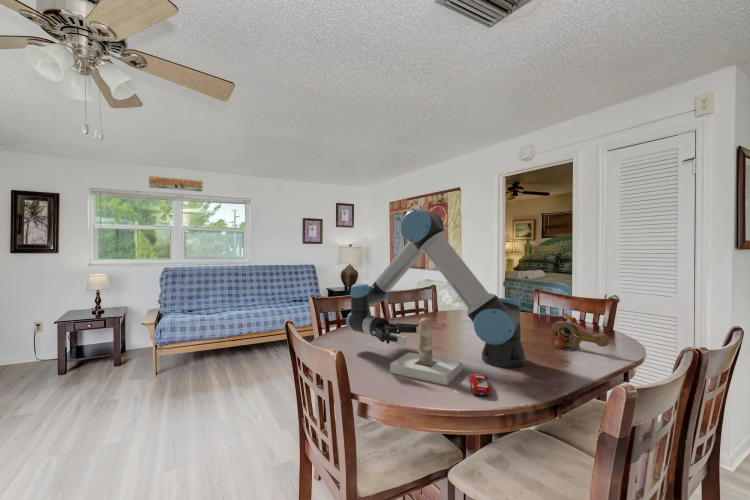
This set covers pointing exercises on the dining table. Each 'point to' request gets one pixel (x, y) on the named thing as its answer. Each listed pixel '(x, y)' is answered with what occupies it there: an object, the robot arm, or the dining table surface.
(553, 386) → the dining table surface
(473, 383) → the race car
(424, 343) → the round-tipped rod
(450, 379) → the block
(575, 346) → the toy helicopter
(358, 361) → the dining table surface
